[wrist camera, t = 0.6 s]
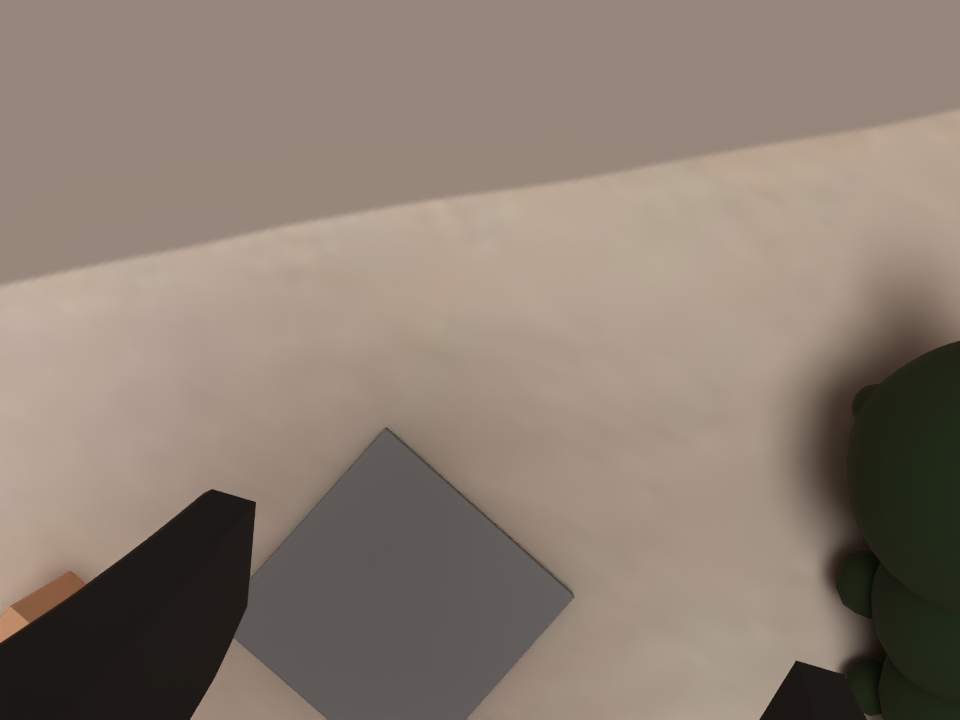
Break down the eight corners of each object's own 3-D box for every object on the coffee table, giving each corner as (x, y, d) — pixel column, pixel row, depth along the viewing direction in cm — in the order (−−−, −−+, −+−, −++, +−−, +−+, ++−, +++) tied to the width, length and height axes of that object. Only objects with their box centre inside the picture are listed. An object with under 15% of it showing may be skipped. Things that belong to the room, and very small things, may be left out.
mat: (406, 780, 36) (405, 787, 35) (217, 615, 36) (213, 620, 35) (572, 592, 36) (574, 596, 35) (386, 427, 36) (385, 428, 35)
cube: (82, 748, 36) (22, 813, 31) (-15, 665, 35) (-90, 717, 30) (166, 653, 36) (121, 702, 31) (71, 570, 35) (9, 606, 30)
